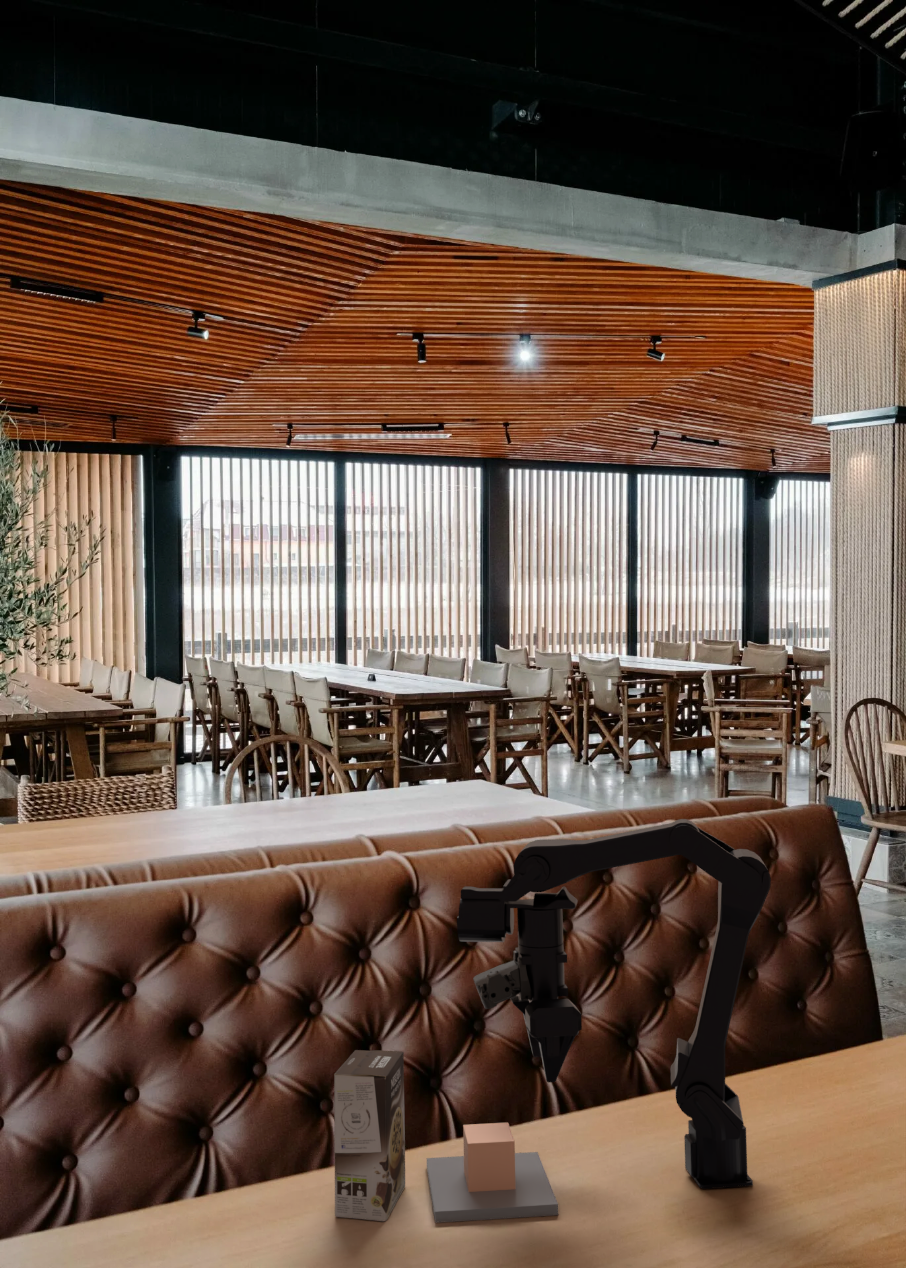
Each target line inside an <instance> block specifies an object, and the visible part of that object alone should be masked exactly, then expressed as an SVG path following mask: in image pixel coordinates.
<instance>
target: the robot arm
mask: <svg viewBox="0 0 906 1268" xmlns="http://www.w3.org/2000/svg"><path fill="white" fill-rule="evenodd" d="M675 856H682V857H684V858H686V859H687V860H689V861H690V862H691V863H692V864H694V865H695V866H697V868H700V870H702V871H703V872H705V873H706V874H707V875H709V876H710V877H712V878H713V879H715V880H716V881H718V882H717V883H718V886H717V888H718V889H717V898H718V899H717V912H718V913H717V925H716V930H715V934H714V939H713V943H712V947H711V953H710V957H709V962H708V967H707V971H706V976H705V981H704V986H703V989H702V994H701V1000H700V1004H699V1009H698V1013H697V1018H696V1023H695V1027H694V1029H693V1032H692V1034H691V1036H690V1037H689V1039H688V1041H687V1040H685V1039H682V1038H680V1037H678V1038H676V1055H675V1058H674V1061H673V1063H672V1064H671V1065H670V1086H671V1087H672V1088H674V1089H675V1101H676V1104H677V1106H678V1107H679V1109H680V1110H681V1112H682V1113H683V1114H685V1116H687V1117H689V1118H691V1119H689V1120H687V1123H688V1127H687V1128H688V1133H685V1135H683V1136H684V1168H685V1169H686V1171H687V1172H688V1174H689V1175H690V1177H692V1178H693V1181H694V1182H695V1183H696V1184H697V1186H698V1187H699V1188H701V1189H705V1190H706V1189H721V1188H723V1189H724V1188H735V1187H736V1188H737V1187H738V1188H739V1187H751V1186H754V1184H753V1183H754V1182H753V1181H754V1180H753V1179H752V1178H751V1176H750V1175H749V1174H748V1158H747V1157H748V1149H747V1127H746V1125H744V1119H743V1114H742V1108H741V1104H740V1099H739V1098H740V1097H739V1096H738V1094H737V1093H736V1092H735V1091H734V1090H733V1089H731V1087H730V1086H729V1085H728V1084H727V1083H726V1043H727V1039H728V1033H729V1029H730V1024H731V1019H732V1015H733V1011H734V1005H735V1003H736V1002H735V1000H736V996H737V992H738V987H739V982H740V978H741V972H742V968H743V963H744V959H745V954H746V949H747V945H748V940H749V936H750V933H751V930H752V928H754V927H753V926H754V924H755V923H756V921H757V919H758V917H759V915H760V914H761V911H762V909H763V907H764V905H765V902H766V899H767V897H768V895H769V893H770V889H771V885H772V882H771V881H772V879H771V874H770V871H769V869H768V868H767V866H766V864H765V863H764V861H763V860H762V858H761V856H759V854H757V853H756V852H755V851H752V850H749V849H745V848H738V849H735V848H734V847H732V846H731V845H729V844H727V843H726V842H724V841H723V840H721V839H719V838H717V837H716V836H714V835H712V834H710V833H708V832H706V831H705V830H703V829H702V828H700V827H698V826H697V824H695V823H694V822H693V821H692V820H689V819H686V818H681V819H680V818H679V819H677V820H675V821H673V822H671V823H666V824H661V825H660V824H659V825H656V826H650V827H645V828H641V829H640V828H639V829H635V830H629V831H625V832H619V833H615V834H610V835H609V834H608V835H605V836H599V837H595V838H594V837H593V838H589V839H578V840H577V839H563V838H562V839H560V838H559V839H558V838H555V839H554V838H553V839H535V840H534V841H530V842H528V843H527V844H526V845H525V846H524V847H522V849H521V850H520V851H519V852H518V854H517V856H516V858H515V860H514V863H513V873H514V874H513V876H512V877H511V879H507V880H506V881H505V883H504V885H502V886H503V887H502V888H498V887H497V888H496V887H495V888H490V887H483V888H480V887H475V886H463V887H462V889H460V900H459V907H458V916H457V918H456V929H457V937H458V940H459V942H466V943H467V942H469V943H470V942H471V943H504V942H505V941H506V937H507V935H513V934H514V930H515V929H514V927H515V910H514V909H516V911H517V912H516V913H517V914H516V918H517V947H515V950H513V953H512V954H513V955H512V956H513V957H512V958H513V960H510V961H508V962H505V963H502V964H499V965H497V966H494V967H493V968H490V969H487V970H485V971H483V972H480V973H478V974H476V975H474V977H473V979H472V980H473V983H474V985H475V989H476V990H477V993H478V995H479V998H480V1001H481V1003H482V1005H483V1007H484V1009H485V1010H488V1009H489V1010H490V1009H492V1008H495V1007H496V1006H497V1005H499V1004H500V1003H502V1002H505V1001H507V1000H510V1001H511V1003H512V1005H514V1006H515V1007H516V1008H517V1009H518V1010H519V1012H521V1013H522V1015H523V1019H524V1023H525V1028H526V1032H527V1035H528V1039H529V1045H530V1048H531V1053H532V1056H533V1057H534V1058H541V1060H542V1061H541V1062H542V1066H543V1072H544V1075H545V1076H544V1077H545V1080H546V1083H555V1082H556V1081H557V1079H558V1077H559V1075H560V1072H561V1070H562V1068H563V1065H564V1063H565V1059H566V1057H567V1055H568V1054H569V1053H568V1052H569V1050H570V1049H571V1046H572V1044H573V1042H574V1041H575V1038H576V1036H578V1035H579V1032H580V1031H583V1026H582V1022H583V1021H582V1013H581V1011H580V1010H579V1009H578V1007H577V1006H576V1005H575V1004H574V1003H573V1002H572V1001H571V1000H570V999H569V998H559V997H569V988H568V986H567V984H565V964H566V963H568V954H567V953H566V952H565V951H564V950H565V949H564V926H563V925H564V922H563V921H564V920H563V919H564V917H563V910H574V909H576V908H577V904H578V899H577V898H576V897H574V895H573V894H572V893H570V892H569V890H568V889H567V887H566V886H562V885H564V884H567V883H570V881H574V880H576V879H578V878H579V877H582V876H585V875H587V874H589V873H593V872H598V871H602V870H603V871H604V870H608V869H613V868H618V867H623V866H629V865H634V864H638V863H643V862H650V861H653V860H659V859H660V860H661V859H663V858H669V857H675ZM559 886H562V887H561V889H560V890H558V892H547V891H549V890H551V889H554V888H557V887H559ZM530 893H534V896H533V898H528V899H526V898H525V899H523V897H524V896H526V895H528V894H530Z"/></svg>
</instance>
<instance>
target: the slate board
mask: <svg viewBox="0 0 906 1268" xmlns="http://www.w3.org/2000/svg"><path fill="white" fill-rule="evenodd" d="M426 1171H427V1172H426V1173H427V1180H428V1183H429V1184H428V1185H429V1186H428V1187H429V1192H430V1198H431V1205H432V1210H433V1218H434V1223H435V1224H436V1223H437V1224H438V1223H451V1222H453V1223H454V1222H468V1221H484V1220H499V1219H500V1220H501V1219H514V1218H515V1219H516V1218H518V1219H519V1218H530V1217H531V1218H534V1217H547V1216H548V1217H549V1216H550V1217H551V1216H559V1202H558V1200H557V1198H556V1196H555V1192H554V1190H553V1187H552V1185H551V1182H550V1179H549V1177H548V1176H547V1172H546V1170H545V1167H544V1164H543V1162H542V1159H541V1157H540V1154H539V1153H538V1151H530V1152H515V1189H511V1190H494V1191H477V1192H469V1191H468V1187H467V1182H466V1178H465V1173H464V1155H460V1156H456V1155H455V1156H441V1157H427V1158H426Z"/></svg>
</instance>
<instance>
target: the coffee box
mask: <svg viewBox="0 0 906 1268" xmlns="http://www.w3.org/2000/svg"><path fill="white" fill-rule="evenodd" d="M404 1053H405V1052H404V1051H403V1050H402V1051H399V1050H374V1049H373V1050H363V1049H362V1050H361V1049H359V1050H358V1049H355V1050H354V1051H353V1052H352V1053H351V1054H350V1055H349V1057H348V1058H347V1059H346V1061H344V1063H342V1064H341V1066H340V1067H339V1068H338V1069H337V1070H336V1072H335V1073H334V1074H333V1075H334V1076H333V1077H334V1081H333V1083H334V1084H333V1085H334V1088H333V1090H334V1093H333V1095H334V1096H333V1097H334V1099H333V1101H334V1105H333V1106H334V1107H333V1108H334V1109H333V1110H334V1112H333V1113H334V1115H333V1117H334V1123H333V1124H334V1132H333V1133H334V1135H333V1136H334V1216H335V1217H337V1218H346V1219H347V1218H349V1219H357V1220H365V1221H366V1220H368V1221H376V1222H377V1221H378V1222H385V1221H387V1220H388V1218H389V1217H390V1214H391V1213H392V1211H393V1209H394V1207H395V1206H396V1204H397V1202H398V1201H399V1198H400V1197H401V1195H402V1193H403V1191H404V1189H405V1187H406V1147H405V1146H406V1140H405V1137H406V1135H405V1133H406V1132H405V1130H406V1129H405V1068H404V1067H405V1066H404V1064H405V1062H404V1056H405V1055H404Z"/></svg>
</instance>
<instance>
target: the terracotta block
mask: <svg viewBox="0 0 906 1268" xmlns="http://www.w3.org/2000/svg"><path fill="white" fill-rule="evenodd" d="M462 1127H463V1129H462V1130H463V1132H462V1133H463V1135H462V1136H463V1138H462V1139H463V1156H464V1173H465V1178H466V1182H467V1187H468V1191H469V1192H477V1191H494V1190H511V1189H515V1153H516V1150H515V1149H516V1148H515V1146H516V1145H515V1138H514V1136H513V1133H512V1129H511V1127H510V1124H509V1122H493V1123H476V1124H473V1123H471V1124H463V1125H462Z"/></svg>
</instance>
